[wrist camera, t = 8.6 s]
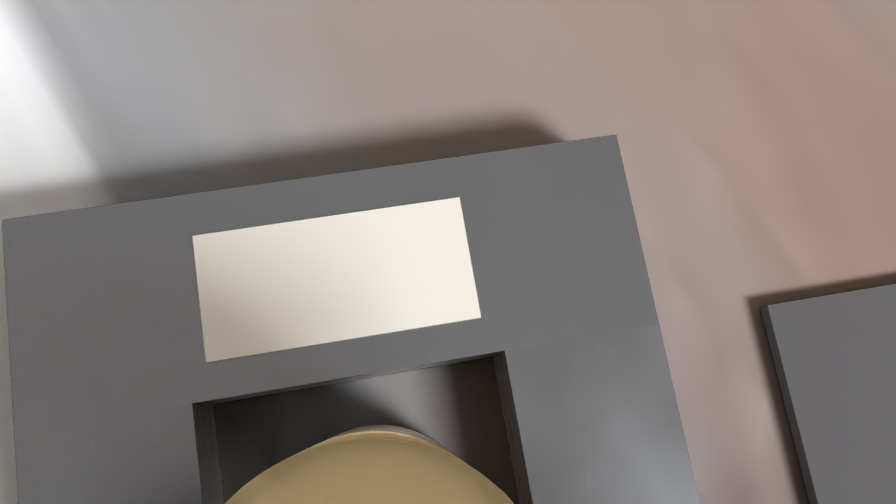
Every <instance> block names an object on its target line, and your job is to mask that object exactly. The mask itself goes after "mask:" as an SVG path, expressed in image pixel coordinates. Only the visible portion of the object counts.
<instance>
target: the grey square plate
mask: <svg viewBox="0 0 896 504" xmlns="http://www.w3.org/2000/svg"><path fill="white" fill-rule="evenodd" d="M760 310H761V314H762V318H763V322H764V326H765V330H766V334H767V338H768V341H769V345H770V349H771V353H772V357H773V361H774V365H775V369H776V373H777V377H778V381H779V385H780V389H781V393H782V397H783V401H784V405H785V409H786V413H787V416H788V420H789V424H790V428H791V432H792V436H793V440H794V444H795V448H796V452H797V456H798V460H799V464H800V468H801V472H802V476H803V480H804V484H805V487H806V491H807V495H808V499H809V503H810V504H896V284H891V285H885V286H879V287H873V288H867V289H861V290H855V291H849V292H844V293H838V294H832V295H826V296H820V297H814V298H808V299H802V300H796V301H790V302H784V303H778V304H772V305H767V306H763V307H760Z"/></svg>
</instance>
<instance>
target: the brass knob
mask: <svg viewBox="0 0 896 504" xmlns="http://www.w3.org/2000/svg"><path fill="white" fill-rule="evenodd" d="M224 504H514V503H513V502H512V500H511V499H510V498H509V497H508V496H507V495H506V494H505V493H504V492H503V491H502V490H501V489H500V488H498V487H497V486H496V485H495V484H494V483H492V482H491V481H490V480H489V479H488V478H486V477H485V476H484V475H483V474H481V473H480V472H478V471H477V470H476V469H474V468H473V467H471V466H470V465H468V464H467V463H465V462H464V461H462V460H461V459H460V458H458V457H457V456H455V455H454V454H452V453H451V452H449V451H448V450H447V449H445V448H444V447H442V446H441V445H439V444H438V443H436V442H435V441H433V440H432V439H430V438H428V437H427V436H425V435H423V434H420V433H418V432H416V431H414V430H410V429H407V428H404V427H399V426H393V425H368V426H361V427H357V428H353V429H349V430H347V431H344V432H342V433H339V434H337V435H335V436H333V437H331V438H328V439H326V440H324V441H322V442H320V443H318V444H316V445H314V446H312V447H310V448H307V449H305V450H303V451H301V452H299V453H297V454H295V455H293V456H291V457H289V458H287V459H285V460H283V461H281V462H279V463H278V464H276V465H274V466H272V467H270V468H268V469H267V470H265V471H263V472H262V473H261V474H259V475H258V476H256V477H255V478H254V479H252V480H251V481H250V482H248V483H247V484H245V485H244V486H243V487H242V488H241V489H239V490H238V491H237V492H236V493H235V494H234V495H233V496H232V497H231V498H230V499H229V500H228V501H227V502H225V503H224Z"/></svg>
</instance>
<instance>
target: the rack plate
mask: <svg viewBox="0 0 896 504" xmlns="http://www.w3.org/2000/svg"><path fill="white" fill-rule="evenodd" d="M2 230H3V247H4V265H5V282H6V299H7V317H8V334H9V352H10V369H11V386H12V404H13V421H14V438H15V456H16V473H17V491H18V504H224V495H223V486H222V477H221V468H220V458H219V449H218V440H217V431H216V422H215V412H214V404H217V403H223V402H229V401H234V400H240V399H246V398H252V397H258V396H264V395H270V394H276V393H282V392H288V391H293V390H299V389H305V388H311V387H317V386H323V385H329V384H335V383H341V382H346V381H352V380H358V379H364V378H370V377H376V376H382V375H388V374H394V373H400V372H405V371H411V370H417V369H423V368H429V367H435V366H441V365H447V364H453V363H459V362H464V361H470V360H476V359H482V358H488V357H493V362H494V368H495V373H496V379H497V384H498V390H499V395H500V401H501V406H502V412H503V417H504V423H505V428H506V434H507V439H508V445H509V450H510V456H511V461H512V467H513V472H514V478H515V483H516V489H517V494H518V500H519V504H700V503H699V498H698V494H697V489H696V485H695V481H694V476H693V472H692V467H691V463H690V458H689V454H688V450H687V445H686V441H685V436H684V432H683V428H682V423H681V419H680V414H679V410H678V405H677V401H676V397H675V392H674V388H673V383H672V379H671V374H670V370H669V366H668V361H667V357H666V352H665V348H664V344H663V339H662V335H661V330H660V326H659V321H658V317H657V313H656V308H655V304H654V299H653V295H652V290H651V286H650V282H649V277H648V273H647V268H646V264H645V260H644V255H643V251H642V246H641V242H640V237H639V233H638V229H637V224H636V220H635V215H634V211H633V206H632V202H631V198H630V193H629V189H628V184H627V180H626V176H625V171H624V167H623V162H622V158H621V153H620V149H619V145H618V140H617V136H616V135H610V136H602V137H595V138H588V139H581V140H574V141H566V142H559V143H552V144H545V145H538V146H530V147H523V148H516V149H509V150H502V151H494V152H487V153H480V154H473V155H466V156H458V157H451V158H444V159H437V160H430V161H422V162H415V163H408V164H401V165H394V166H386V167H379V168H372V169H365V170H358V171H350V172H343V173H336V174H329V175H322V176H314V177H307V178H300V179H293V180H286V181H278V182H271V183H264V184H257V185H250V186H242V187H235V188H228V189H221V190H214V191H206V192H199V193H192V194H185V195H178V196H170V197H163V198H156V199H149V200H142V201H134V202H127V203H120V204H113V205H106V206H98V207H91V208H84V209H77V210H70V211H62V212H55V213H48V214H41V215H34V216H26V217H19V218H12V219H5V220H2Z"/></svg>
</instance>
